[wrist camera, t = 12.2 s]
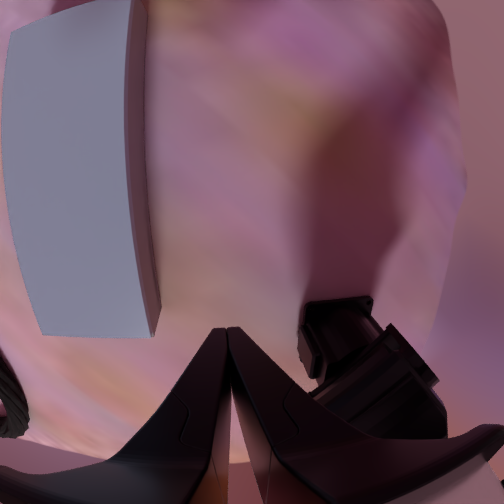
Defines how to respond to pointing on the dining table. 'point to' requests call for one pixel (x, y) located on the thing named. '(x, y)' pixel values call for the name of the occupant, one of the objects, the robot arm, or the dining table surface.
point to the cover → (74, 171)
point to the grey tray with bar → (140, 161)
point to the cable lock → (12, 406)
